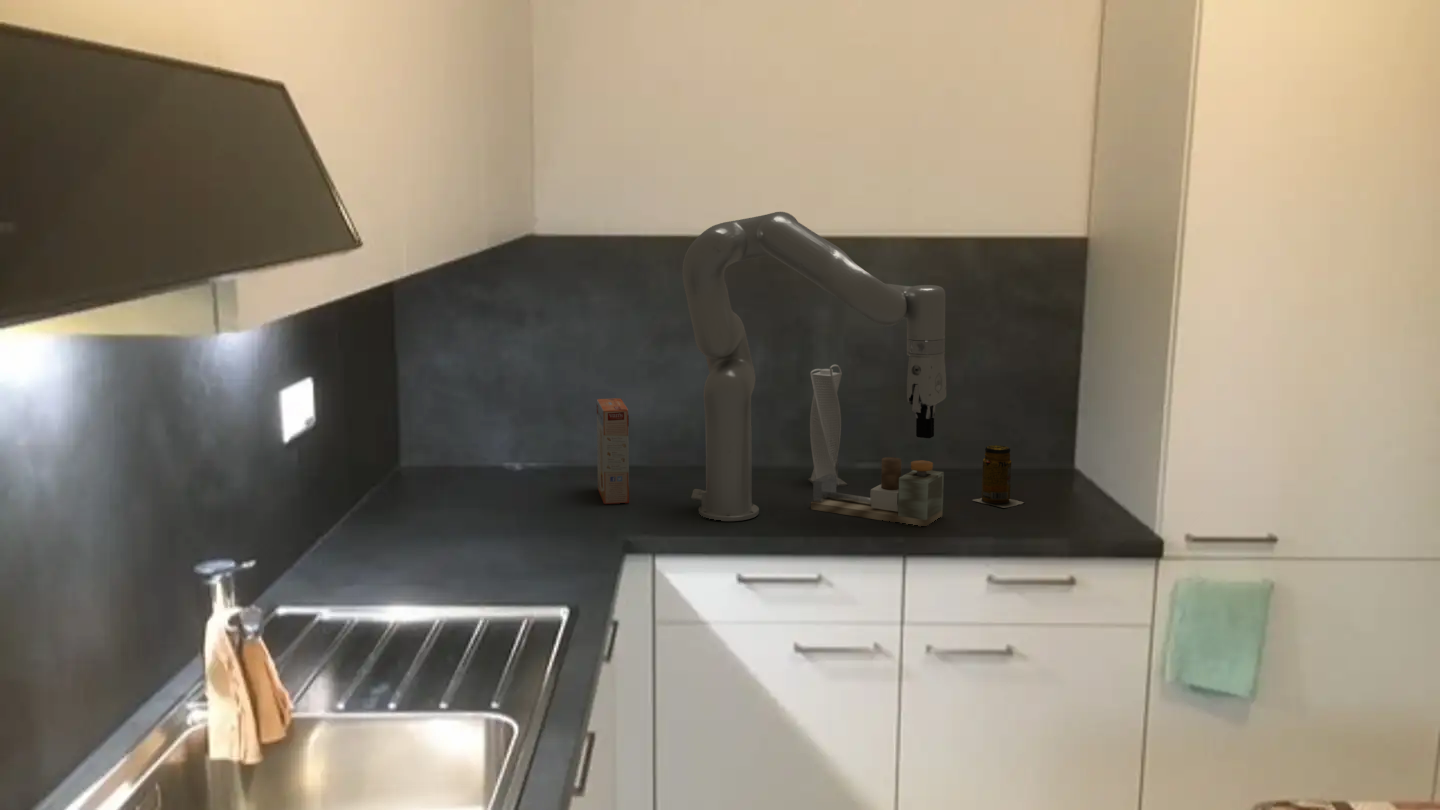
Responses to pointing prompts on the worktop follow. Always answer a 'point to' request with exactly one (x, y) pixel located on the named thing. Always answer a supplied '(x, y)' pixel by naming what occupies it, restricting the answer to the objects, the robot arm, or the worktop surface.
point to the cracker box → (613, 450)
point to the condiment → (997, 477)
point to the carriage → (887, 486)
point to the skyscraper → (825, 423)
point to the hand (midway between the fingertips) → (925, 436)
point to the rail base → (914, 507)
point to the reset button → (922, 467)
